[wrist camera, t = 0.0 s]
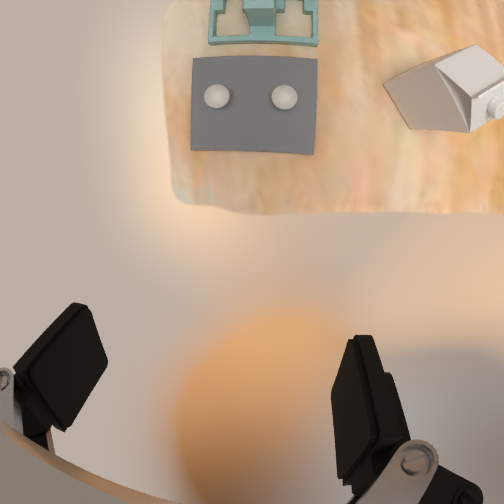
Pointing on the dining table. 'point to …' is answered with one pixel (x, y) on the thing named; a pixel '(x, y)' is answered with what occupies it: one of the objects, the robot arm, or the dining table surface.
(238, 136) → the board
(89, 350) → the robot arm
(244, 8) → the teal frame with block
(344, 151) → the dining table surface
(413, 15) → the dining table surface
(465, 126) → the milk carton
